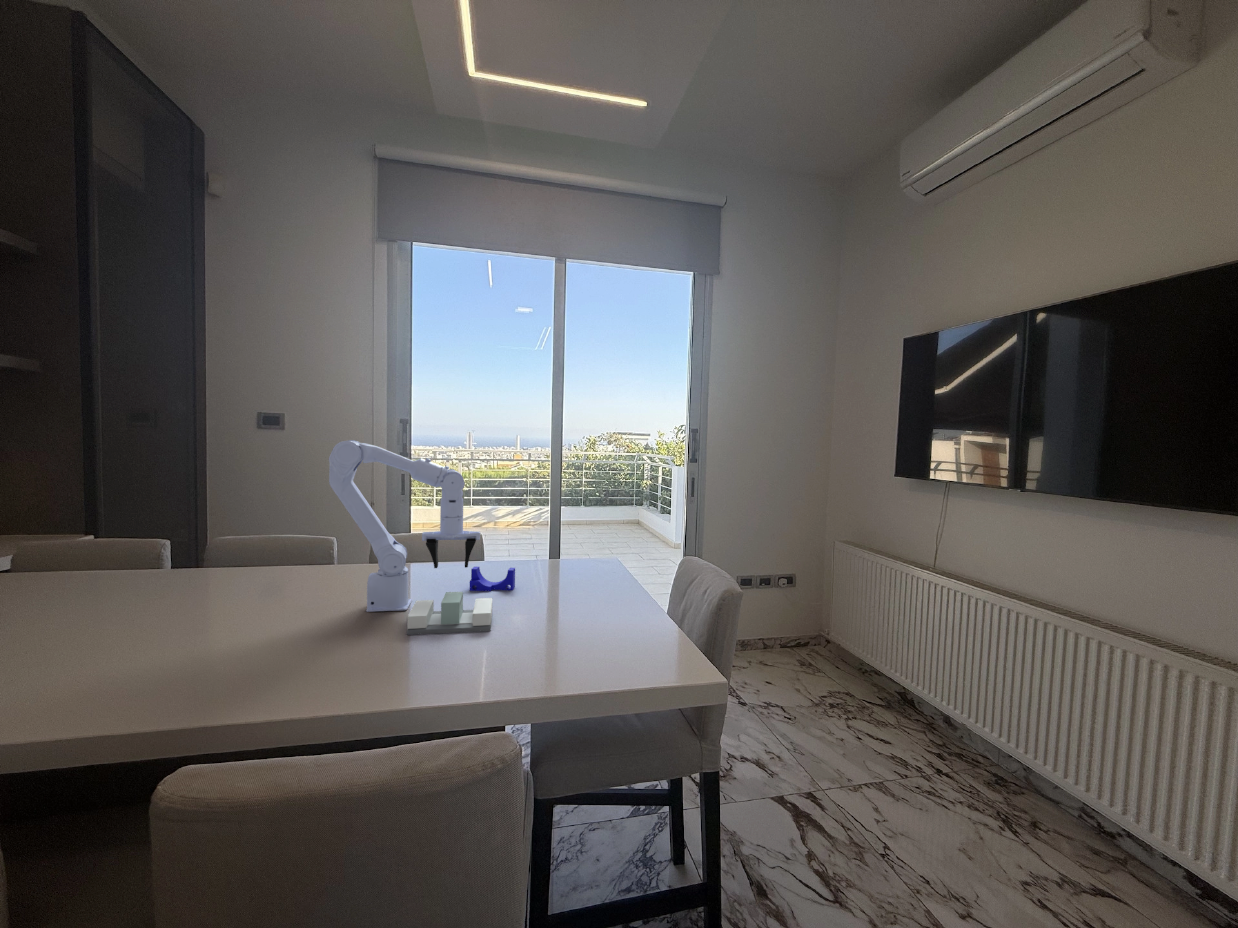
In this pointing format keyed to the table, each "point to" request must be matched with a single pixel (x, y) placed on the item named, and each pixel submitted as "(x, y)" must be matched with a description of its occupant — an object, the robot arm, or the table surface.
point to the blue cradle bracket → (484, 585)
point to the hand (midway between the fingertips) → (451, 566)
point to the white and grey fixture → (429, 622)
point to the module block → (452, 608)
